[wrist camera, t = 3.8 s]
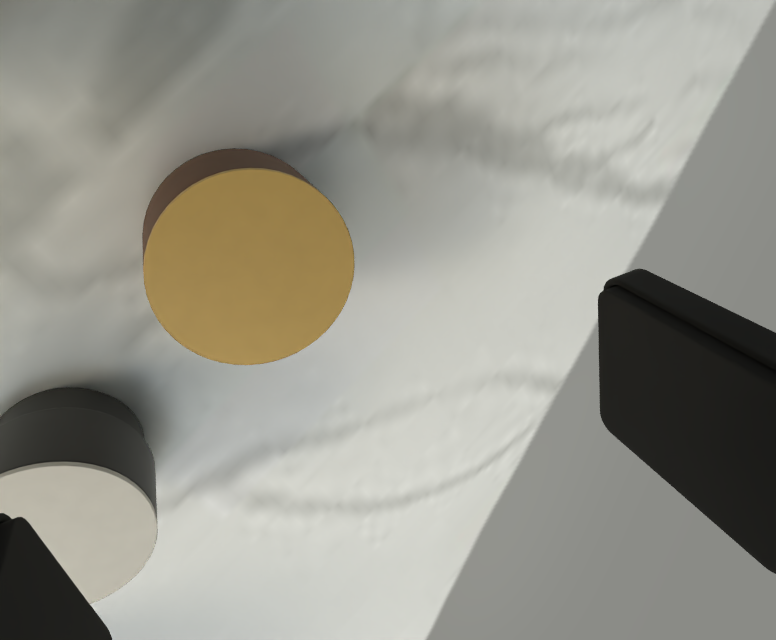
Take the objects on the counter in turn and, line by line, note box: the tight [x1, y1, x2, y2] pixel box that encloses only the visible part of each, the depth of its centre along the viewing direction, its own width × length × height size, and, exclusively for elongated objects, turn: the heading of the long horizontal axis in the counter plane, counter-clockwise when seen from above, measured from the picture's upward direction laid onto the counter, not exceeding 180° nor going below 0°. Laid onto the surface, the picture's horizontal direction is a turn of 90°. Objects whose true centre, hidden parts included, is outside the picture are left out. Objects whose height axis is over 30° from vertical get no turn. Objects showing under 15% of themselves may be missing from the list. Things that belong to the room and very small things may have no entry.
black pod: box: [0, 388, 157, 604], centre depth 19 cm, size 6×6×5 cm
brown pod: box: [143, 149, 354, 365], centre depth 18 cm, size 6×6×5 cm
